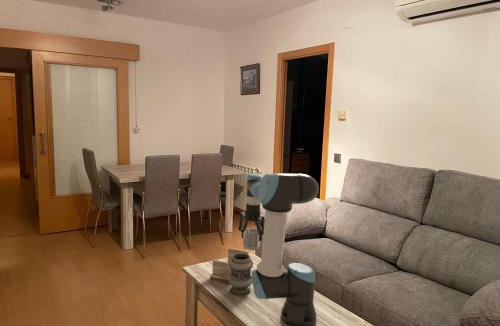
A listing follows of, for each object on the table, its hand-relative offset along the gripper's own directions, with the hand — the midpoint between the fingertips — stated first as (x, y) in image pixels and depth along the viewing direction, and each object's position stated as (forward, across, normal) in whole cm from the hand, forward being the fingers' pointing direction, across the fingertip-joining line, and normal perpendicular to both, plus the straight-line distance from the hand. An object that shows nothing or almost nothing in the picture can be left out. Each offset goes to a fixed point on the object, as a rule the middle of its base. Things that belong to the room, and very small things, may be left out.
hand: (251, 245), depth 189 cm
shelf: (+17, +11, 0) cm, 21 cm away
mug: (+2, 0, 0) cm, 2 cm away
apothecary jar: (+18, -2, +17) cm, 25 cm away
